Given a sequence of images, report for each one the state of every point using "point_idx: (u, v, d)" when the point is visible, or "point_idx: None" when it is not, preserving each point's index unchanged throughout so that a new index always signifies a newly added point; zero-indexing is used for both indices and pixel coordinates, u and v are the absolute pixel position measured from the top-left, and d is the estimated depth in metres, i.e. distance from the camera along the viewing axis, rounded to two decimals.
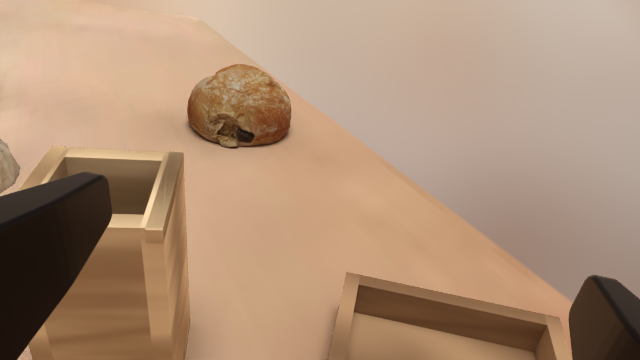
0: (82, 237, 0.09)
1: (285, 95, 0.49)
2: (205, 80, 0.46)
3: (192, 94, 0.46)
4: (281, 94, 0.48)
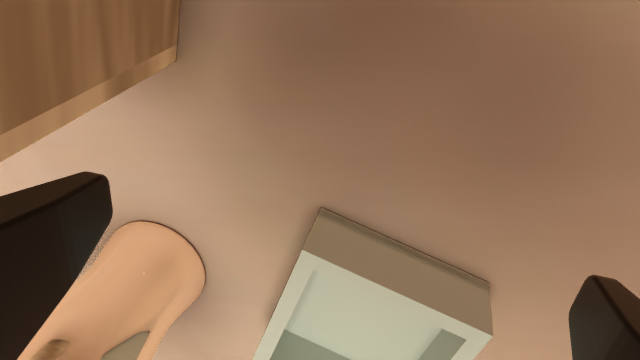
0: (82, 237, 0.09)
1: None
2: None
3: None
4: None
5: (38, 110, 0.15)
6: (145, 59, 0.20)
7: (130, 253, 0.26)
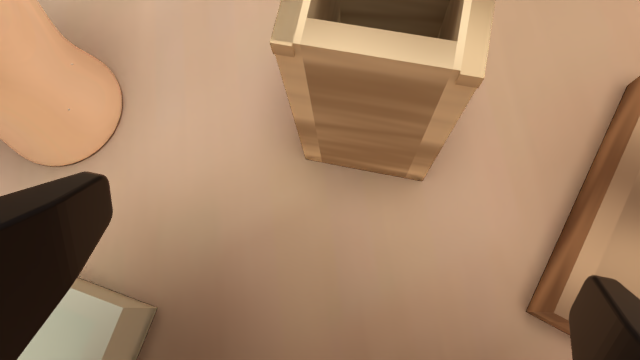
0: (82, 237, 0.09)
1: None
2: None
3: None
4: None
5: (312, 85, 0.15)
6: (319, 144, 0.21)
7: (90, 92, 0.23)
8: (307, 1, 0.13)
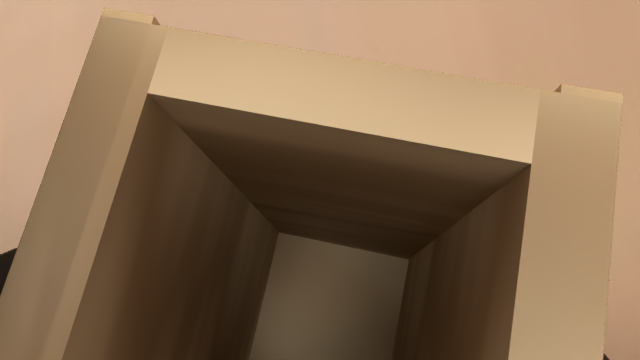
0: None
1: None
2: None
3: None
4: None
5: None
6: None
7: None
8: None
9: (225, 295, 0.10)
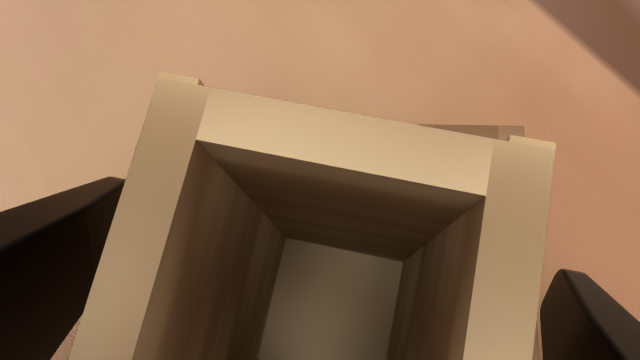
0: None
1: None
2: None
3: None
4: None
5: None
6: None
7: None
8: None
9: (242, 294, 0.12)
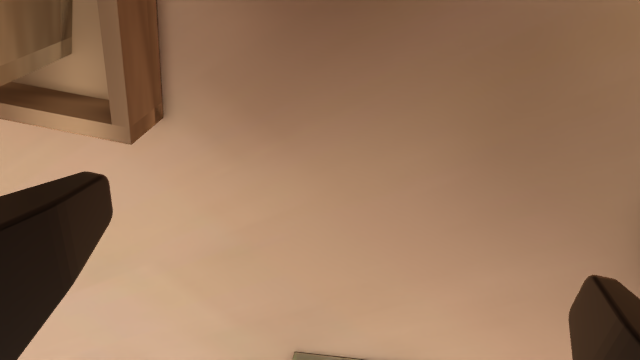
0: (82, 237, 0.09)
1: None
2: None
3: None
4: None
5: None
6: (30, 52, 0.20)
7: None
8: None
9: None
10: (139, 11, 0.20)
